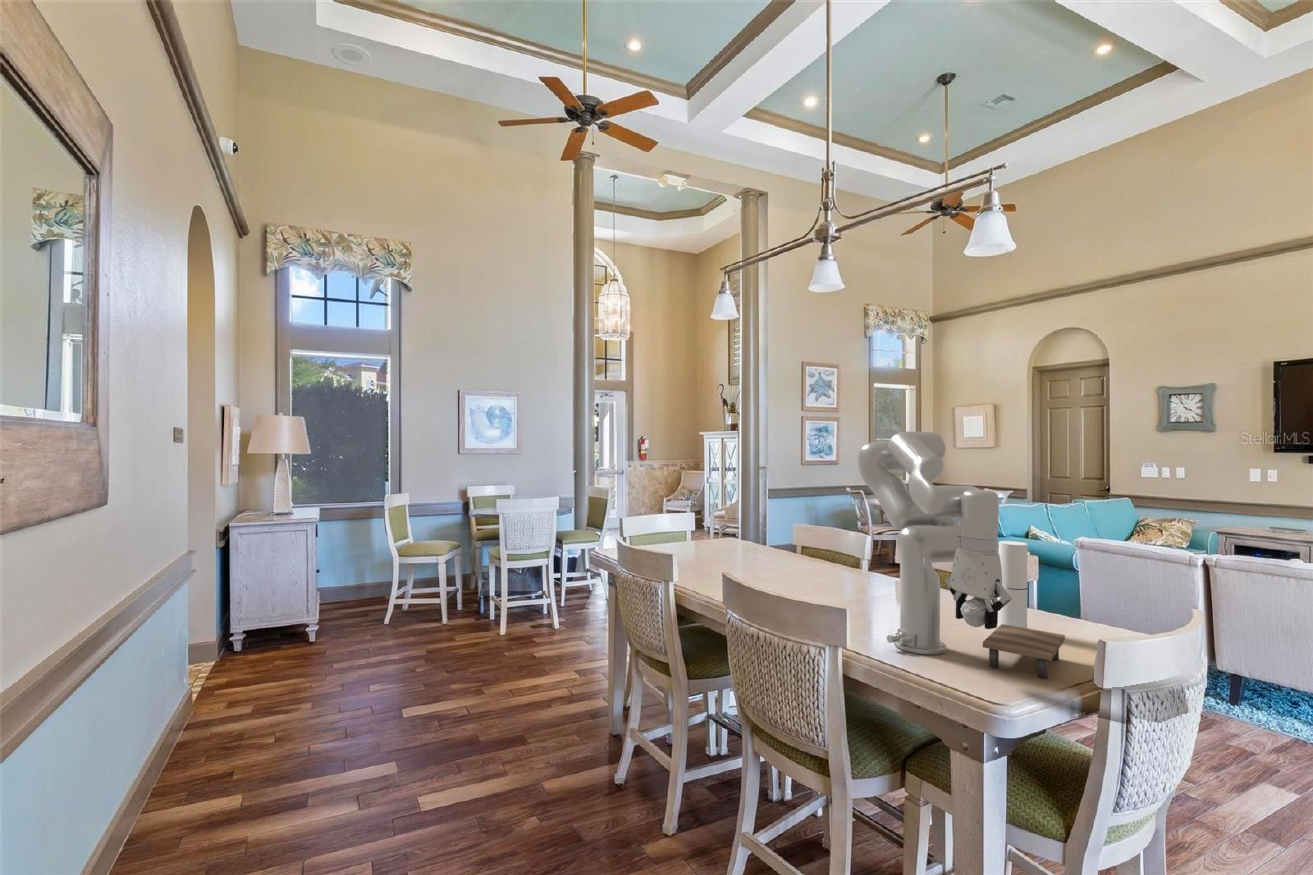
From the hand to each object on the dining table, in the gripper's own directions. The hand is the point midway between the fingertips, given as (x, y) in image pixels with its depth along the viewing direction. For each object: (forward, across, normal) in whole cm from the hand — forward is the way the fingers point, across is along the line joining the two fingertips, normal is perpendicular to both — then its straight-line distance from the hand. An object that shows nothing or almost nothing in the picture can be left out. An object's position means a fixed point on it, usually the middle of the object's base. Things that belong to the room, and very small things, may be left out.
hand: (975, 622), depth 144 cm
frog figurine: (+1, 0, 0) cm, 1 cm away
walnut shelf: (+13, -2, +20) cm, 24 cm away
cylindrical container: (+14, -21, +42) cm, 49 cm away
